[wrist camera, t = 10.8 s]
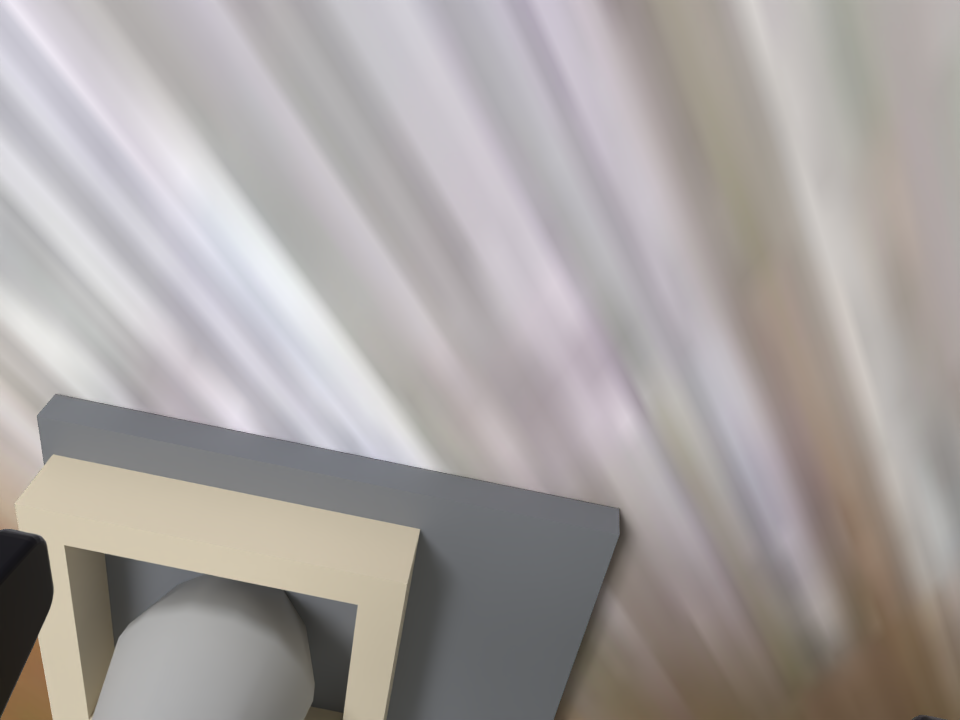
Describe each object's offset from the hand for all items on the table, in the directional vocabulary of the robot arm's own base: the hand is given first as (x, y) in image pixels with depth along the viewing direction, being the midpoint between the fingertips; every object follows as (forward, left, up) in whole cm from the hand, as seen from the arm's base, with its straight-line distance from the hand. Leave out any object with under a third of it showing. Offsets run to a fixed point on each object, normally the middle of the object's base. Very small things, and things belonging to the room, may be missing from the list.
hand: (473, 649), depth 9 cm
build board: (+4, +16, -13) cm, 21 cm away
